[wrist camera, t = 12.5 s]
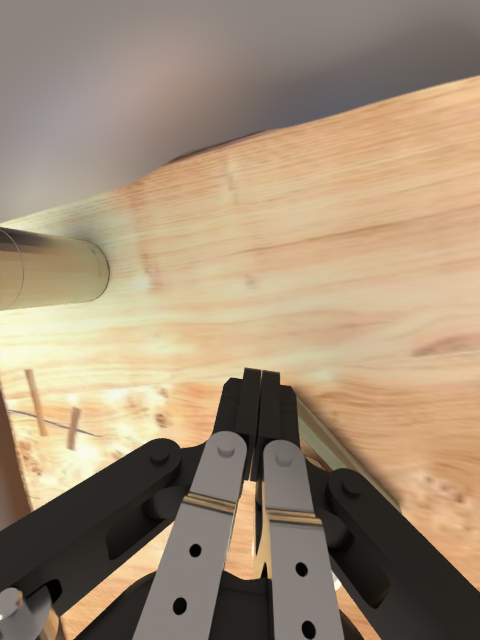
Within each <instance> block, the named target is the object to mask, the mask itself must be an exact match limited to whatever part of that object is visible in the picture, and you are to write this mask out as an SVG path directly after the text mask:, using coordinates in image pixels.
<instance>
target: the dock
mask: <svg viewBox="0 0 480 640" xmlns="http://www.w3.org/2000/svg"><path fill="white" fill-rule="evenodd" d="M296 397H297V396H296ZM297 411H298V414H297V415H298V426H299V435H300V436H301V437H302V438H303V439H304V440H305V441H306V442H307V443H308V444H309V445H310V446H311V447H312V449H313V450H314V451H315V452H316V453H317V454H318V455H319V456H320V457H321V458H322V459H323V460H324V461H325V462H326V463H327V464H328V466H329V467H330V468H331V469H332V470H333V471H334V470H336V469H339V468H348V469H352V470H354V471H356V472H358V473H360V474H361V475H363V476H364V477H365V478H366V479H367V480H368V481H369V482H370V483H371V484H372V485H373V486H374V487H375V488H376V489H377V490H378V491H379V492H380V493H381V494H382V495H383V496H384V497H385V498H386V499H387V500H388V501H389V502H390V503H391V504H392V505H393V506H394V507H395V508H396V509H397V510H398V511H399V512H400V513H401V514H402V512H401V509H400V506H399V504H398V503H397V501H396V500H395V499H394V498H393V497H392V496H391V495H390V494H389V493H388V492H387V491H386V490H385V489H384V488H383V487H382V486H381V485H380V484H379V483H378V481H377V480H376V479H375V478H374V477H373V476H372V475H371V474H370V473H369V472H368V471H367V470H366V469H365V468H364V467H363V466H362V465H361V464H360V463H359V462H358V460H357V459H356V458H355V457H354V456H353V455H352V454H351V453H350V452H349V451H348V450H347V449H346V448H345V447H344V446H343V445H342V444H341V443H340V442H339V441H338V439H337V438H336V437H335V436H334V435H333V434H332V433H331V432H330V431H329V430H328V429H327V428H326V427H325V426H324V425H323V424H322V423H321V422H320V421H319V419H318V418H317V417H316V416H315V415H314V414H313V413H312V412H311V411H310V410H309V409H308V408H307V407H306V406H305V405H304V404H303V403H302V402H301V401H300V400H299V398H298V397H297Z"/></svg>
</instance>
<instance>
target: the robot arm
mask: <svg viewBox="0 0 480 640" xmlns="http://www.w3.org/2000/svg"><path fill="white" fill-rule="evenodd" d="M108 277H109V269H108V264H107V261H106V258H105V256H104V255H103V253H102V251H101V250H100V249H99V248H98V247H97V246H95V245H94V244H92V243H90V242H88V241H83V240H77V239H71V238H65V237H59V236H53V235H47V234H41V233H34V232H28V231H22V230H16V229H9V228H3V227H0V311H3V310H12V309H22V308H32V307H41V306H51V305H61V304H72V303H82V302H89V301H93V300H94V299H96V298H98V297H99V296H100V295H101V294H102V293H103V291H104V290H105V288H106V285H107V283H108ZM260 382H261V383H260ZM297 414H298V411H297V397H296V394H295V392H294V391H293V389H292V387H291V386H285V385H280V372H273V371H267V370H263V371H262V377H261V370H259V369H252V368H246V367H245V369H244V375H243V379H238V378H230V379H229V380H228V381H227V382H226V383H225V384H224V386H223V391H222V396H221V399H220V403H219V408H218V412H217V416H216V420H215V425H214V429H213V432H212V435H211V436H210V438H209V439H208V440H207V441H206V442H204V443H203V444H201V445H198V446H195V447H189V448H181V449H180V447H179V445H178V444H177V443H176V442H174V441H172V440H170V439H166V438H159V439H154V440H151V441H149V442H147V443H146V444H144V445H142V446H141V447H139V448H137V449H136V450H134V451H132V452H131V453H129V454H127V455H126V456H124V457H123V458H121V459H119V460H118V461H116V462H114V463H113V464H111V465H109V466H108V467H106V468H104V469H103V470H101V471H99V472H98V473H96V474H94V475H93V476H91V477H89V478H88V479H86V480H84V481H83V482H81V483H79V484H78V485H76V486H75V487H73V488H71V489H70V490H68V491H66V492H65V493H63V494H61V495H60V496H58V497H56V498H55V499H53V500H51V501H50V502H48V503H46V504H45V505H43V506H41V507H40V508H38V509H36V510H35V511H33V512H31V513H30V514H28V515H27V516H25V517H23V518H22V519H20V520H18V521H17V522H15V523H13V524H12V525H10V526H8V527H7V528H5V529H3V530H2V531H0V640H55V637H56V634H57V630H58V618H59V617H60V616H61V615H63V614H64V613H65V612H66V611H67V610H69V609H70V608H71V607H72V606H73V605H75V604H76V603H77V602H78V601H79V600H81V599H82V598H83V597H84V596H85V595H87V594H88V593H89V592H90V591H91V590H92V589H94V588H95V587H96V586H97V585H98V584H100V583H101V582H102V581H103V580H104V579H106V578H107V577H108V576H109V575H110V574H112V573H113V572H114V571H115V570H116V569H117V568H119V567H120V566H121V565H122V564H123V563H125V562H126V561H127V560H128V559H129V558H131V557H132V556H133V555H134V554H135V553H137V552H138V551H139V550H140V549H141V548H142V547H144V546H145V545H146V544H147V543H148V542H150V541H151V540H152V539H153V538H154V537H156V536H157V535H158V534H159V533H160V532H162V531H163V530H164V529H165V528H166V527H167V526H169V525H170V524H171V523H172V522H173V521H174V520H175V522H174V525H173V527H172V530H171V533H170V536H169V539H168V541H167V544H166V547H165V550H164V553H163V555H162V558H161V561H160V564H159V567H158V569H157V571H155V572H152V573H150V574H148V575H146V576H144V577H142V578H141V579H139V580H137V581H136V582H135V583H133V584H132V585H131V586H129V587H128V588H127V589H126V590H125V591H124V592H123V593H122V594H121V595H120V596H119V597H117V598H116V599H115V600H114V601H113V602H112V603H111V604H110V605H109V606H108V607H107V608H106V609H105V610H104V611H103V612H102V613H101V614H100V615H99V616H98V617H97V618H96V619H94V620H93V621H92V622H91V623H90V624H89V625H88V626H87V627H86V628H85V629H84V630H83V631H82V632H81V633H80V634H79V635H78V636H77V637H76V638H75V639H74V640H364V638H363V637H362V635H361V634H360V632H359V631H358V629H357V628H356V627H355V626H354V624H353V623H352V622H351V621H350V619H349V618H348V617H347V616H346V615H345V614H344V613H343V612H342V611H341V610H340V609H339V608H338V603H337V597H336V592H335V587H334V581H333V576H332V571H333V573H334V574H335V575H336V577H337V578H338V580H339V581H340V582H341V584H342V585H343V587H344V588H345V589H346V591H347V592H348V594H349V595H350V596H351V598H352V599H353V601H354V602H355V603H356V605H357V606H358V607H359V609H360V610H361V612H362V613H363V614H364V616H365V617H366V619H367V620H368V621H369V623H370V624H371V626H372V627H373V628H374V630H375V631H376V633H377V634H378V635H379V637H380V638H381V639H382V640H480V592H479V591H478V590H477V589H476V588H475V587H474V586H473V585H472V584H471V583H470V582H469V581H468V580H467V579H466V578H465V577H464V576H463V575H462V574H461V573H460V572H459V571H458V570H457V569H456V568H455V567H454V566H453V565H452V564H451V563H450V562H449V561H448V560H447V559H446V558H445V557H444V556H443V555H442V554H441V553H440V552H439V551H438V550H437V549H436V548H435V547H434V546H433V545H432V544H431V543H430V542H429V541H428V540H427V539H426V538H425V537H424V536H423V535H422V534H421V533H420V532H419V531H418V530H417V529H416V528H415V527H414V526H413V525H412V524H411V523H410V522H409V521H408V520H407V519H406V518H405V517H404V516H403V515H402V514H401V513H400V512H399V511H398V510H397V509H396V508H395V507H394V506H393V505H392V504H391V503H390V502H389V501H388V500H387V499H386V498H385V497H384V496H383V495H382V494H381V493H380V492H379V491H378V490H377V489H376V488H375V487H374V486H373V485H372V484H371V483H370V482H369V481H368V480H367V479H366V478H365V477H364V476H363V475H361V474H360V473H358V472H356V471H354V470H352V469H348V468H339V469H336V470H334V471H333V472H332V473H330V472H328V471H325V470H323V469H321V468H319V467H317V466H315V465H314V464H312V463H311V462H310V461H308V460H307V458H306V457H305V456H304V454H303V452H302V451H301V448H300V440H299V426H298V415H297ZM251 462H252V464H251ZM250 467H251V475H250V481H254V482H256V491H255V497H254V503H253V543H254V560H253V574H252V580H243V579H240V578H238V577H236V576H234V575H232V574H230V573H228V572H227V571H225V569H226V564H227V558H228V553H229V548H230V543H231V538H232V533H233V528H234V522H235V517H236V512H237V507H238V502H239V499H240V497H241V495H242V489H243V483H244V480H247V481H248V479H249V473H250ZM331 570H332V571H331Z"/></svg>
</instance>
